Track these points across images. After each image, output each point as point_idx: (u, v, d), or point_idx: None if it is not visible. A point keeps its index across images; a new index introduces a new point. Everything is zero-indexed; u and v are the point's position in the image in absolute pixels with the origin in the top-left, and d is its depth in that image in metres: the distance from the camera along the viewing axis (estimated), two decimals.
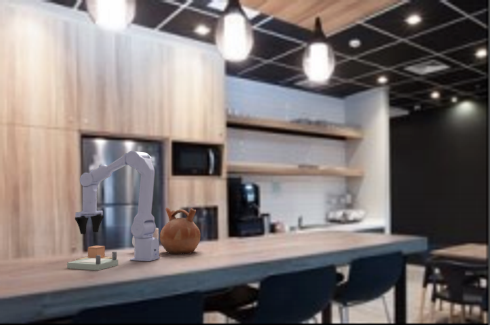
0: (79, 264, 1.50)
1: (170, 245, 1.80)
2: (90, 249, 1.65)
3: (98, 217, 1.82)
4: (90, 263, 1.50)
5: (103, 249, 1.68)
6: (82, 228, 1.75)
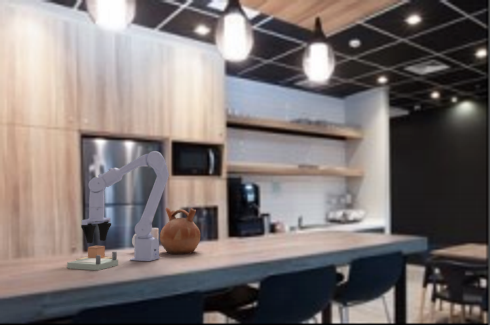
0: (79, 264, 1.50)
1: (170, 245, 1.80)
2: (90, 249, 1.65)
3: (106, 224, 1.71)
4: (90, 263, 1.50)
5: (103, 249, 1.68)
6: (89, 237, 1.63)
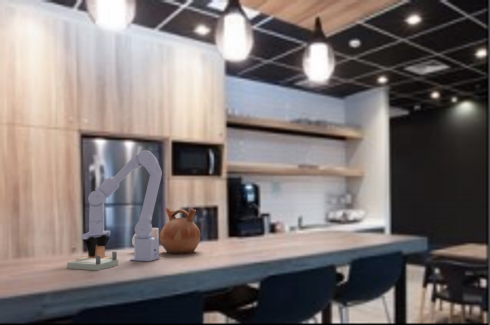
0: (79, 264, 1.50)
1: (170, 245, 1.80)
2: None
3: (103, 238, 1.69)
4: (90, 263, 1.50)
5: (103, 249, 1.68)
6: (91, 250, 1.64)
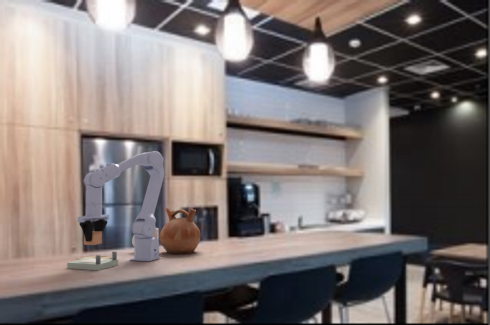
0: (79, 264, 1.50)
1: (170, 245, 1.80)
2: None
3: (101, 222, 1.58)
4: (90, 263, 1.50)
5: (100, 234, 1.57)
6: (88, 235, 1.53)
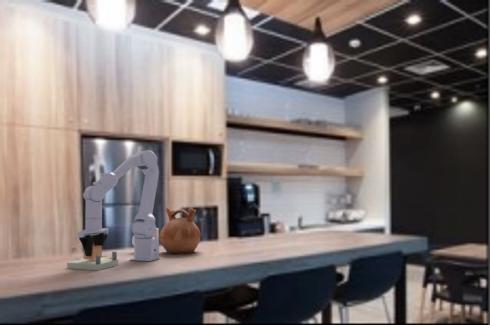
0: (79, 264, 1.50)
1: (170, 245, 1.80)
2: None
3: (101, 236, 1.57)
4: (90, 263, 1.50)
5: (100, 249, 1.56)
6: (87, 249, 1.52)
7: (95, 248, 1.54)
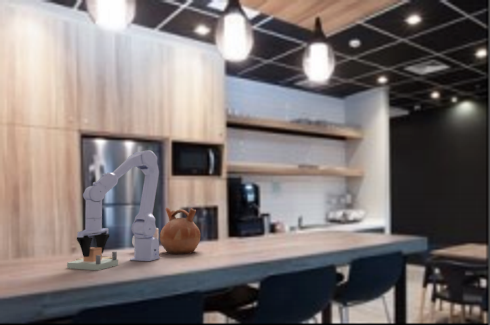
0: (79, 264, 1.50)
1: (170, 245, 1.80)
2: None
3: (103, 236, 1.59)
4: (90, 263, 1.50)
5: (100, 251, 1.56)
6: (85, 250, 1.51)
7: (95, 250, 1.54)
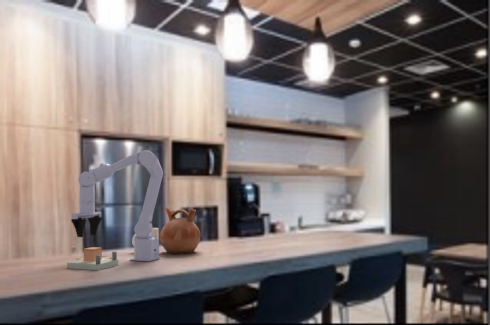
0: (79, 264, 1.50)
1: (170, 245, 1.80)
2: (86, 251, 1.54)
3: (96, 219, 1.71)
4: (90, 263, 1.50)
5: (100, 251, 1.56)
6: (79, 231, 1.64)
7: (95, 250, 1.54)
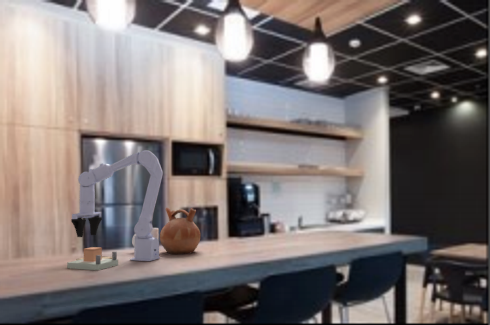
0: (79, 264, 1.50)
1: (170, 245, 1.80)
2: (86, 251, 1.54)
3: (96, 219, 1.71)
4: (90, 263, 1.50)
5: (100, 251, 1.56)
6: (79, 231, 1.64)
7: (95, 250, 1.54)
